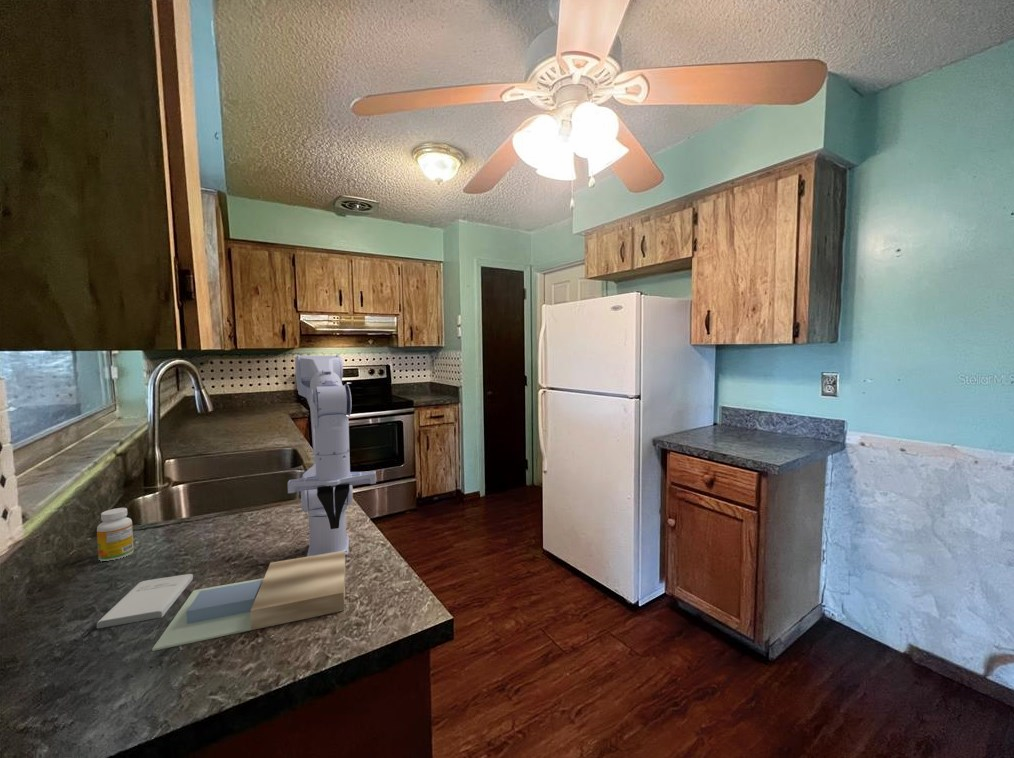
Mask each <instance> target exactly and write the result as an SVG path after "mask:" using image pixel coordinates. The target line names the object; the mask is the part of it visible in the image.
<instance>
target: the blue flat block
mask: <svg viewBox="0 0 1014 758" xmlns="http://www.w3.org/2000/svg"><path fill="white" fill-rule="evenodd" d="M261 584H262V580H261V581H256V582H250V583H244V584H238V585H232V586H227V587H221V588H215V589H209V590H204V591H200V592H199V594H198V595H197V597H196V598H195V600H194V601H193V603H192V604H191V605H190V607H189V608H188V610H187V624H190V623H195V622H200V621H205V620H210V619H215V618H221V617H226V616H231V615H236V614H241V613H246V612H251V608H252V606H253V603H254V601H255V599H256V596H257V594H258V591H259V589H260V587H261Z"/></svg>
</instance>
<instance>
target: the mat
mask: <svg viewBox="0 0 1014 758" xmlns="http://www.w3.org/2000/svg"><path fill="white" fill-rule="evenodd" d="M263 579H264V577H261V578H258V579H257V578H256V579H251V580H246V581H245V580H244V581H238V582H235V583H228V584H223V585H217V586H210V587H205V588H199V589H193V590H192V591H191V593H190V595H188V598H187V599H185V600H186V601H185V602H184V603H183V605H182V606H181V608H180V609H179V610H178V612H177V613H176V614H175V616H174V617H173V619H172V620H171V621H170V623H169V624H168V626H167V627H166V628H165V630H164V631H163V633H162V635H161V636H160V637H159V639H158V640H157V641H156V643H155V644H154V645H153V647H152V650H151V651H152V652H154V651H158V650H160V651H161V650H164V649H168V648H172V647H178V646H183V645H187V644H192V643H197V642H202V641H207V640H212V639H215V638H221V637H224V636H229V635H234V634H235V635H236V634H238V633H239V634H240V633H244V632H249V631H252V630H251V612H246V613H241V614H236V615H231V616H226V617H221V618H215V619H210V620H205V621H200V622H195V623H190V624H187V610H188V608H189V607H190V605H191V604H192V603H193V601H194V600H195V598H196V597H197V595H198V594H199V592H200V591H204V590H209V589H215V588H221V587H227V586H232V585H238V584H244V583H250V582H256V581H261V580H262V582H263Z"/></svg>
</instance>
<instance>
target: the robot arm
mask: <svg viewBox="0 0 1014 758" xmlns="http://www.w3.org/2000/svg"><path fill="white" fill-rule="evenodd" d="M294 359H295V360H294V366H295V367H294V369H295V371H294V373H295V381H296V391H298V392H297V393H298V395H299V396H301V397H303V398H305V399H306V400H307V404H308V406H309V408H310V409H309V411H310V423H311V424H310V425H311V426H310V427H311V439H312V441H311V442H312V452H313V465H312V466H311V467H309V468H308V469H307V470H305V472H303V474H302V476H301V478H295V479H289V480H288V481H287V494H294V493H296V492H300V504H301V511H302V512H303V513H306V514H307V513H308V531H309V537H308V538H309V545H308V550H307V553H306V557H308V556H314V555H321V554H327V553H333V552H339V551H345V557H346V556H349V548H350V547H349V546H350V545H349V544H350V543H349V542H350V541H349V540H350V536H349V535H347V515H346V513H347V510H348V506H350V505H351V504H352V503H353V498H354V489H353V486H356V485H357V486H359V485H365V484H370V485H374V484H377V476H376V475H377V474H376V473H377V472H376V471H375V470H372V471H351V462H350V461H351V460H350V459H351V457H350V423H349V417H351V413H352V394H351V393H352V392H351V388H350V386H349V384H344V385H343V377H344V363H343V358H342V356H341V355H339V354H336V355H301V354H298V355H296V356H295V357H294Z"/></svg>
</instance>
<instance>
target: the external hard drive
mask: <svg viewBox="0 0 1014 758" xmlns="http://www.w3.org/2000/svg"><path fill="white" fill-rule="evenodd" d="M193 577H194V574H193V573H185V574H182V575H181V574H179V575H173V576H167V577H159V578H153V579H148V580H147V579H146V580H142V581H140V582H138V583H137V584H136V585H135V586H134V587H133V588H132V589H131V590H129V591H128V593H126V594H125V595H124V596H123V597H122V598H121V599H120V600H119V601H118V602H117V603H116V604H115V605H114V606H113V607H112V608H111V609H109V610H108V612H106V614H104V615H103V616H102V618H101V619H99V620H98V621H97V622H96V629H103V628H109V627H115V626H120V625H127V624H130V623H137V622H143V621H148V620H154V619H155V620H156V619H159V618H163V616H165V614H166V613H167V612H168V611H169V609H170V608H171V607H172V606H173V605H174V603H175V602H176V600H178V598H179V597H180V596H181V594H182V593H183V592H184V591H185V589H186V588H187V587H188V586H189V585H190V583H191V582H192V581H193V580H194V578H193Z"/></svg>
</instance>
